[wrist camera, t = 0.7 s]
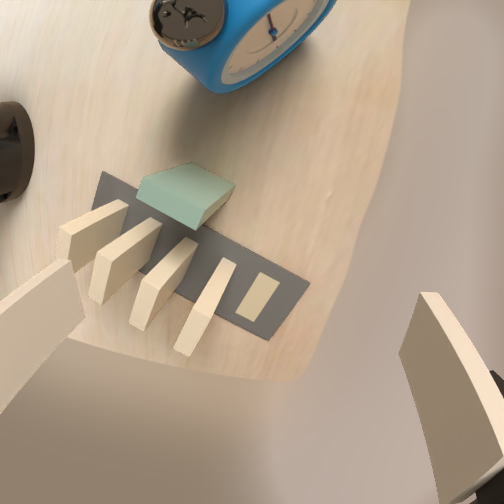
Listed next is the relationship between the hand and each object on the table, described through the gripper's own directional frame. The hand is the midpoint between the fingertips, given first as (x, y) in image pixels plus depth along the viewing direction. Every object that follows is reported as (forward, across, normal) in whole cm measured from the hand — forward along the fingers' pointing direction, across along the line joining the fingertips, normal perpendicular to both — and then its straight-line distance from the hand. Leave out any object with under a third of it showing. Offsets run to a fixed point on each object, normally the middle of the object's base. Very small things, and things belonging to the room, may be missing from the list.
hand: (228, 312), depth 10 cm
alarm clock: (+20, -1, +15) cm, 25 cm away
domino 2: (+20, -13, -6) cm, 24 cm away
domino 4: (+20, -9, -8) cm, 23 cm away
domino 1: (+20, -17, -4) cm, 27 cm away
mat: (+20, -9, -8) cm, 23 cm away
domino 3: (+20, -6, +1) cm, 21 cm away
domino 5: (+20, -5, -10) cm, 22 cm away
